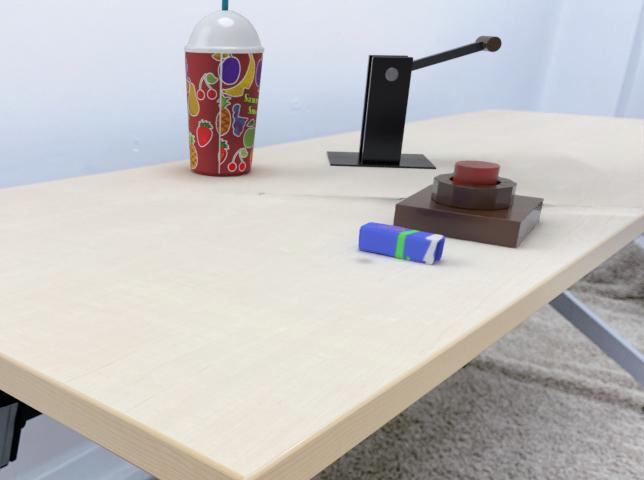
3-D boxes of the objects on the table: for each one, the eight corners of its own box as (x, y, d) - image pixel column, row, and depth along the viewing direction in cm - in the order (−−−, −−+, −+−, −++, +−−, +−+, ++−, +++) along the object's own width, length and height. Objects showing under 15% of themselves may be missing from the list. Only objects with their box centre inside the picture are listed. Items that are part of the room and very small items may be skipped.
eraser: (432, 266, 52) (436, 240, 51) (356, 251, 55) (359, 225, 54) (442, 260, 53) (446, 234, 52) (367, 245, 56) (370, 220, 55)
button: (500, 183, 61) (504, 163, 60) (491, 191, 58) (494, 169, 58) (458, 178, 63) (461, 158, 62) (446, 185, 60) (450, 164, 59)
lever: (490, 51, 82) (487, 30, 81) (503, 53, 77) (500, 30, 76) (375, 85, 85) (371, 64, 84) (380, 88, 80) (376, 67, 79)
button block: (538, 222, 63) (548, 177, 62) (515, 249, 56) (525, 198, 54) (427, 206, 68) (433, 165, 67) (392, 229, 61) (398, 182, 59)
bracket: (421, 163, 90) (437, 55, 84) (434, 177, 81) (452, 58, 76) (326, 160, 91) (335, 53, 86) (329, 174, 83) (339, 57, 78)
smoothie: (263, 187, 76) (273, -22, 68) (185, 187, 75) (186, -23, 67) (252, 172, 83) (260, -17, 75) (181, 172, 83) (182, -19, 75)
